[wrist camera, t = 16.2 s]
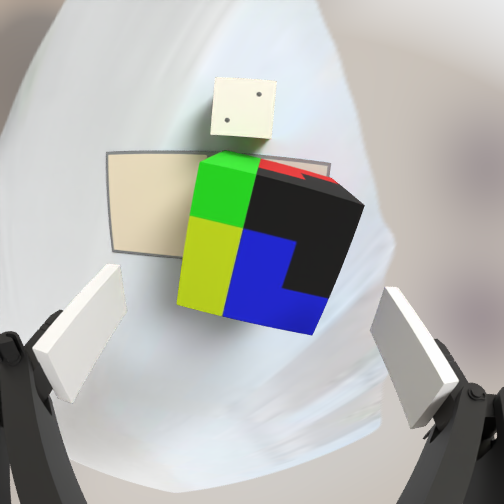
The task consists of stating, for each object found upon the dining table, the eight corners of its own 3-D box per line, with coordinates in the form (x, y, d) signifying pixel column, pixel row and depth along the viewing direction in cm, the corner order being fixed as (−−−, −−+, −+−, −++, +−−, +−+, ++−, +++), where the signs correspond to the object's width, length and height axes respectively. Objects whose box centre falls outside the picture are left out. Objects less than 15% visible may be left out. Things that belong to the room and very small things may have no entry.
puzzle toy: (300, 272, 30) (312, 335, 20) (204, 249, 29) (176, 304, 20) (331, 177, 26) (364, 205, 16) (224, 150, 25) (199, 161, 16)
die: (220, 134, 25) (210, 135, 21) (224, 86, 23) (215, 77, 19) (270, 138, 25) (271, 139, 21) (275, 89, 23) (276, 80, 19)
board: (113, 250, 30) (112, 251, 30) (107, 151, 26) (105, 152, 25) (313, 270, 30) (314, 271, 29) (330, 163, 25) (331, 163, 25)
